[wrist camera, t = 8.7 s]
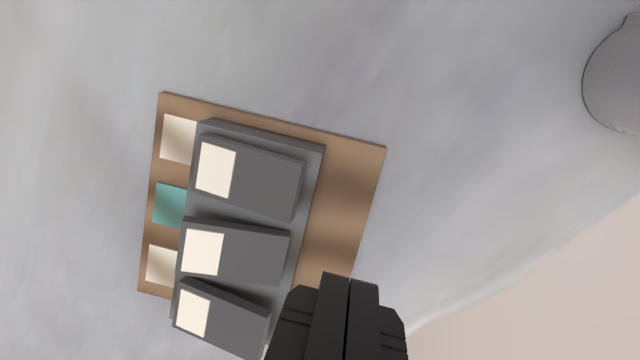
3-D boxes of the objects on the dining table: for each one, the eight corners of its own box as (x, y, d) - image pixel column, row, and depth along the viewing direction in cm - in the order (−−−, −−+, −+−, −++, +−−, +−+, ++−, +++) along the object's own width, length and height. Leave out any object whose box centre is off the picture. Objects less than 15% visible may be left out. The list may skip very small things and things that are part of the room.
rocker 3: (191, 271, 38) (177, 282, 36) (276, 306, 36) (265, 319, 34) (185, 315, 39) (170, 327, 37) (265, 350, 37) (255, 366, 35)
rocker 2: (186, 211, 34) (181, 222, 32) (288, 227, 36) (290, 238, 34) (179, 261, 36) (173, 275, 33) (277, 274, 37) (278, 288, 35)
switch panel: (164, 91, 38) (135, 94, 33) (386, 146, 37) (390, 158, 33) (142, 286, 44) (115, 312, 40) (331, 336, 44) (328, 369, 39)
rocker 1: (211, 131, 34) (197, 134, 32) (310, 160, 32) (301, 165, 30) (203, 185, 35) (189, 191, 33) (297, 216, 34) (288, 224, 31)
